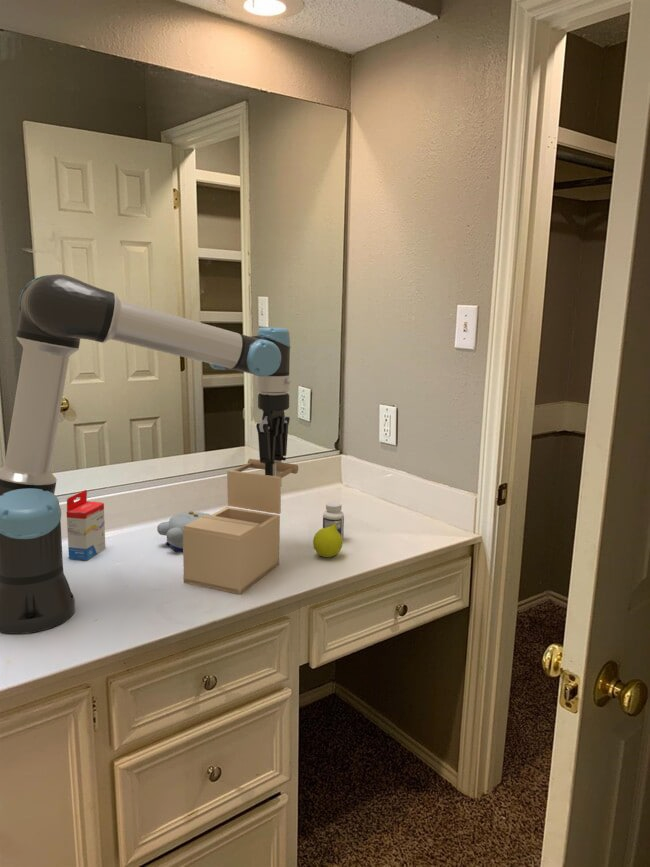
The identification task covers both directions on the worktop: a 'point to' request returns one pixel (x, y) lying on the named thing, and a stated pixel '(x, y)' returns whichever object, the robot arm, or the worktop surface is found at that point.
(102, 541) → the ink box
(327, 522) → the pill bottle
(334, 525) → the ornament
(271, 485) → the tan handled panel part
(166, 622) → the worktop surface
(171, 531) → the figurine
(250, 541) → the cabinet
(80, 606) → the worktop surface
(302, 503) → the worktop surface
